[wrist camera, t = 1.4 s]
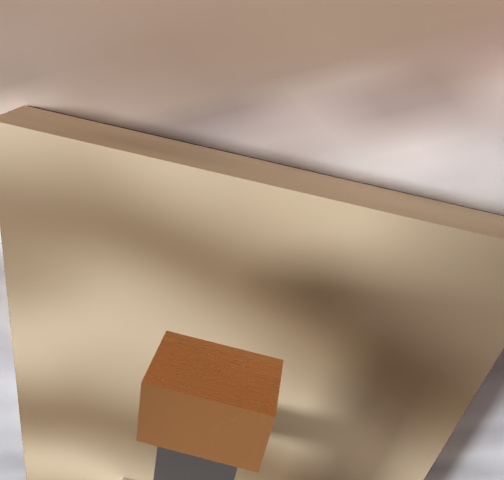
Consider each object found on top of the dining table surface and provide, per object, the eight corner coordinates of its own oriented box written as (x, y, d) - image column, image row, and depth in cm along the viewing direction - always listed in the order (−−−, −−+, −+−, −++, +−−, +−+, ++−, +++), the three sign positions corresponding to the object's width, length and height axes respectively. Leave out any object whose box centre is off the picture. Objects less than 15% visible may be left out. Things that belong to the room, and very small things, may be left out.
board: (322, 609, 23) (321, 647, 22) (51, 535, 24) (35, 567, 23) (537, 223, 12) (561, 252, 11) (24, 105, 13) (-11, 119, 12)
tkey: (228, 512, 18) (196, 673, 14) (168, 496, 18) (117, 651, 14) (296, 268, 12) (275, 416, 8) (206, 246, 12) (141, 382, 8)
